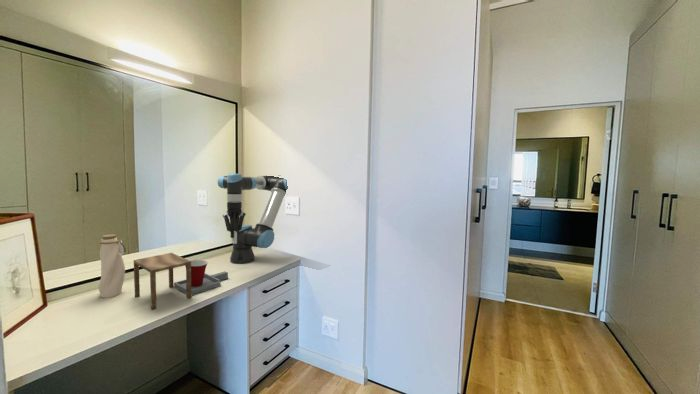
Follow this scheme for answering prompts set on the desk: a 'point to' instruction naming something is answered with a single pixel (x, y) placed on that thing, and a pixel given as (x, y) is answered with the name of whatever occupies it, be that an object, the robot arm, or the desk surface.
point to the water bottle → (111, 266)
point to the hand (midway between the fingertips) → (234, 243)
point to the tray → (207, 284)
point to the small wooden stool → (161, 264)
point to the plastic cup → (197, 272)
